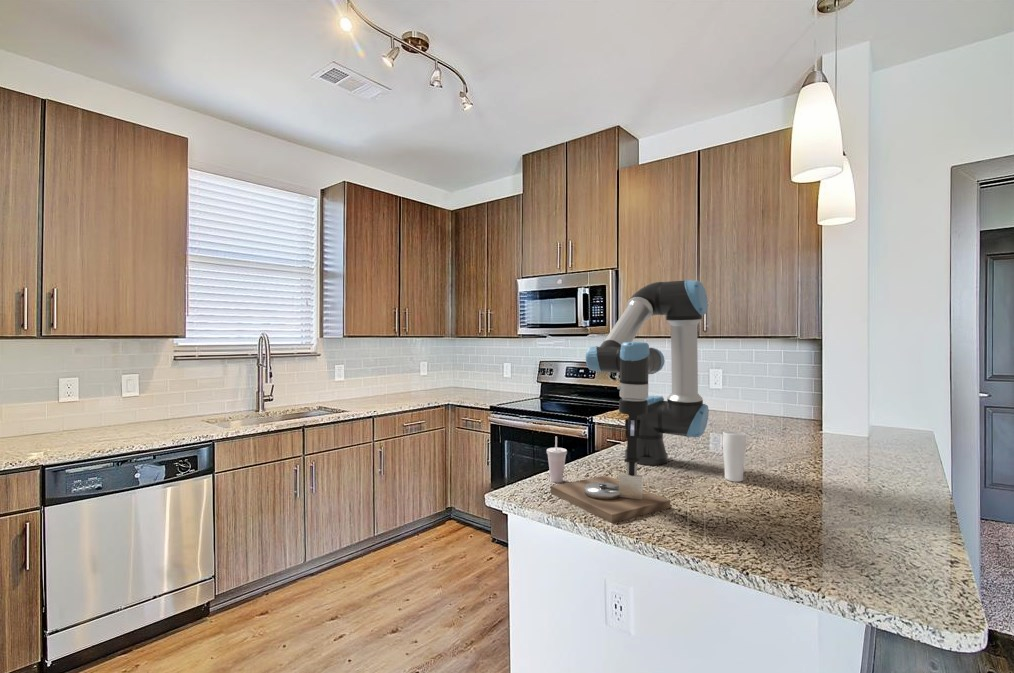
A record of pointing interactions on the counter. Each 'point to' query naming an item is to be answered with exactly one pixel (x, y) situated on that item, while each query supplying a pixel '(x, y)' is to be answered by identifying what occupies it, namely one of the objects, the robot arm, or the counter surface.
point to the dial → (617, 488)
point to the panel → (609, 501)
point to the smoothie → (556, 462)
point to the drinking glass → (734, 455)
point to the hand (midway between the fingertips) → (631, 485)
